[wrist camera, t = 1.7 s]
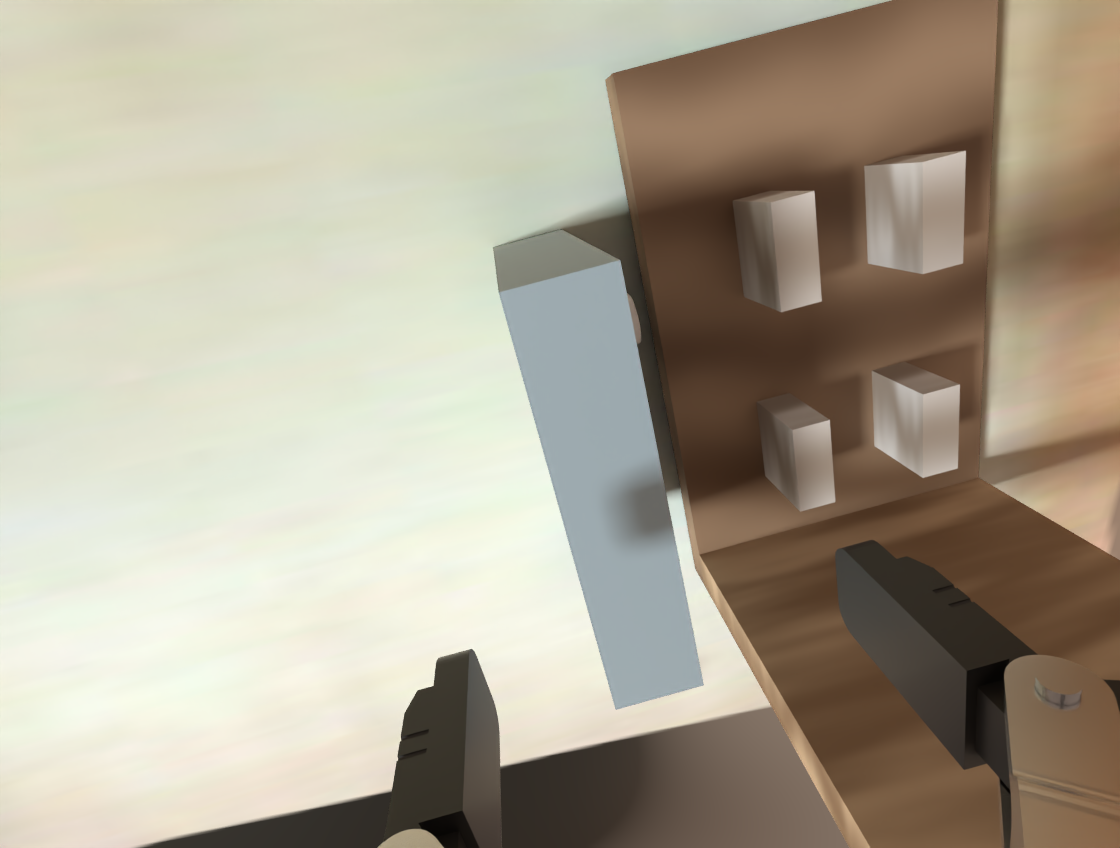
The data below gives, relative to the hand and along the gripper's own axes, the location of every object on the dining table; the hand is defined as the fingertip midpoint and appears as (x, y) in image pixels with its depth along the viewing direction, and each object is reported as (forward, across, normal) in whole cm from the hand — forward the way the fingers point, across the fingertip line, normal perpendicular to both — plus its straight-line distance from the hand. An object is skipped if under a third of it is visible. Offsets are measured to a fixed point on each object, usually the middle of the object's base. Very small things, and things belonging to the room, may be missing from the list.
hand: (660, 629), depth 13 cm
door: (+16, 0, 0) cm, 16 cm away
